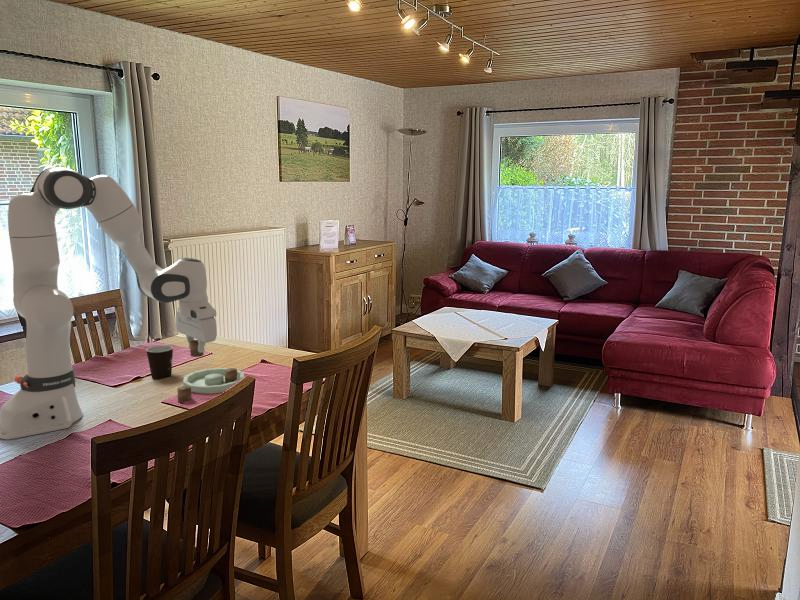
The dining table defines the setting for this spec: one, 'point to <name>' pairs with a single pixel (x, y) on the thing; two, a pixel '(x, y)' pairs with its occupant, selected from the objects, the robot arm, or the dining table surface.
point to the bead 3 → (230, 375)
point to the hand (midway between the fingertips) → (196, 350)
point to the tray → (200, 381)
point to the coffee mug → (160, 361)
